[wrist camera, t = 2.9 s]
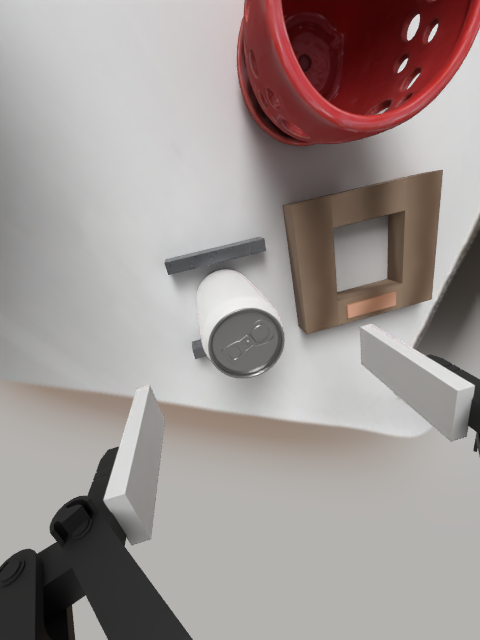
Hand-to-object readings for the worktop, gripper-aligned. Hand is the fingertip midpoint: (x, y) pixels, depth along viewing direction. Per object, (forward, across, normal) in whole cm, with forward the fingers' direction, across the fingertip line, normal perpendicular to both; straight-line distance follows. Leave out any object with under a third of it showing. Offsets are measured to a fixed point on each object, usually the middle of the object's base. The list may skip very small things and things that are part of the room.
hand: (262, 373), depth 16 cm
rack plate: (+16, +16, +1) cm, 22 cm away
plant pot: (+16, +11, +18) cm, 26 cm away
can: (+16, 0, 0) cm, 16 cm away
